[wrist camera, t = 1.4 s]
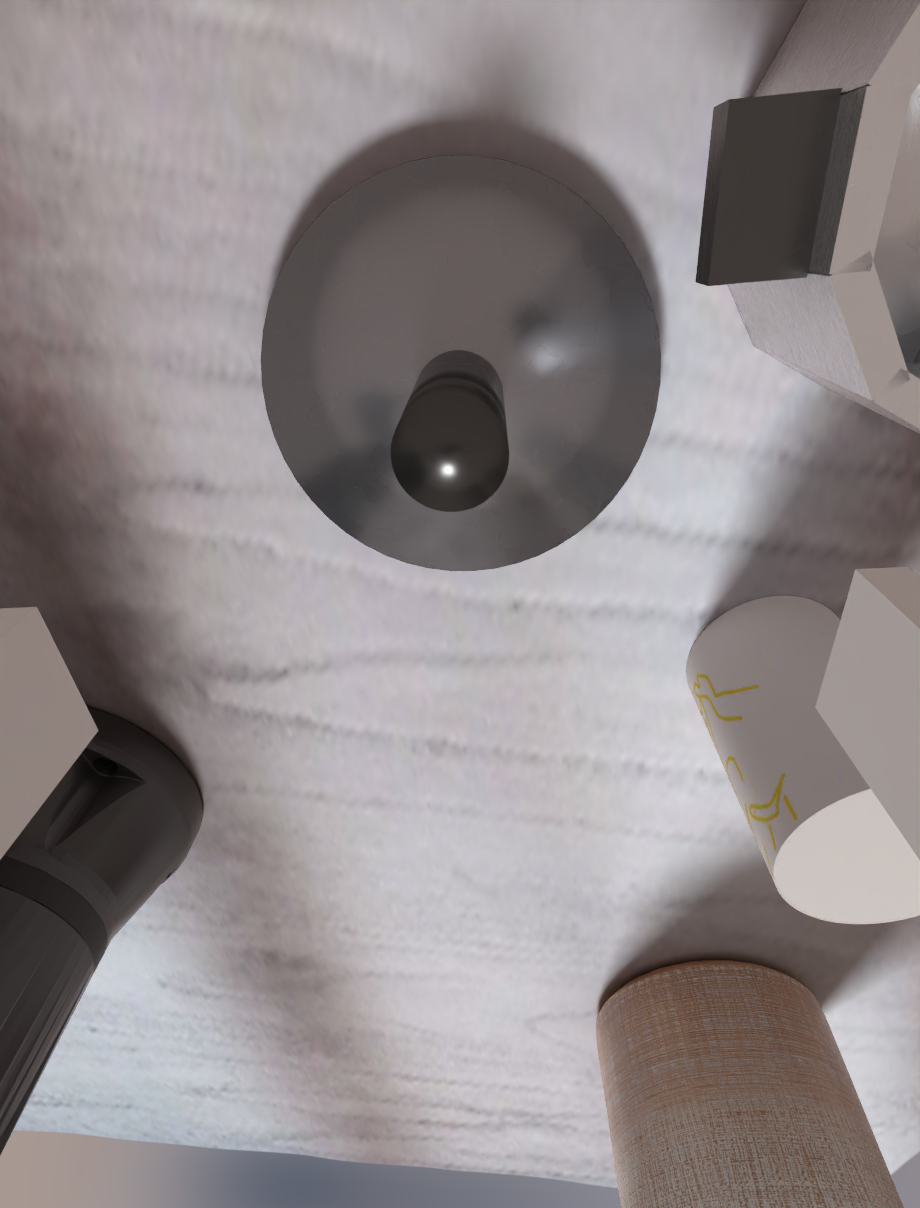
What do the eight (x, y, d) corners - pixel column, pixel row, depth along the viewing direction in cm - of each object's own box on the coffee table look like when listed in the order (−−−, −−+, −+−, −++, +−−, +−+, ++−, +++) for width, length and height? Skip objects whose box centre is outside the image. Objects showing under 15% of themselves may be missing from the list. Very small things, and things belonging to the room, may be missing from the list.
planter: (861, 1005, 50) (997, 1289, 37) (693, 1079, 58) (756, 1336, 45) (711, 921, 45) (806, 1216, 32) (549, 1015, 53) (570, 1283, 40)
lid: (314, 564, 31) (258, 676, 24) (226, 181, 23) (97, 161, 15) (638, 547, 30) (690, 658, 22) (670, 136, 22) (769, 91, 14)
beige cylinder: (669, 627, 32) (754, 816, 22) (836, 572, 30) (1016, 753, 20) (705, 735, 36) (792, 941, 26) (855, 694, 34) (1015, 897, 24)
